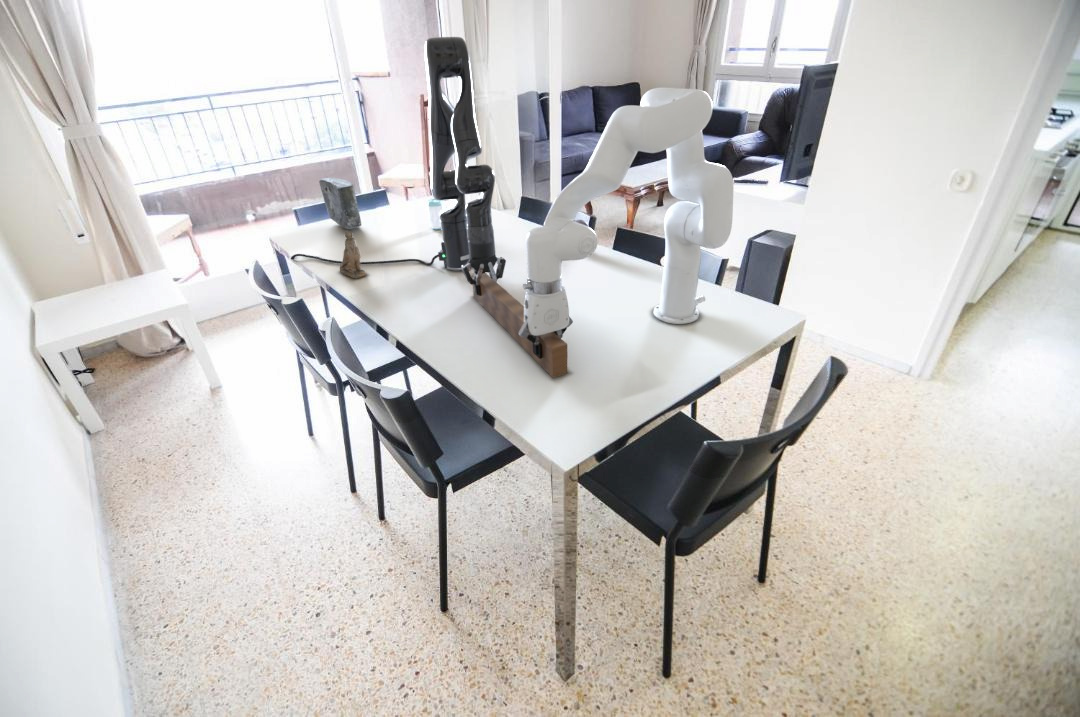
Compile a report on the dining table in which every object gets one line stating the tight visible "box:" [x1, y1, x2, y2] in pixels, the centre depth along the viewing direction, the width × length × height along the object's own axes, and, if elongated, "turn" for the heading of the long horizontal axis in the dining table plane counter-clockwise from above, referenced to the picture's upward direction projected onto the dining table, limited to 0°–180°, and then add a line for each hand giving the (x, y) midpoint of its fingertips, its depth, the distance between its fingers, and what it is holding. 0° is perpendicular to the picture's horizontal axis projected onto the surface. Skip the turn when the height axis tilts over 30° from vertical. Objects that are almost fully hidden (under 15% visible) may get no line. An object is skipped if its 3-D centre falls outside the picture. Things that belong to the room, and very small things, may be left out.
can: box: [426, 198, 445, 230], centre depth 220 cm, size 7×7×12 cm
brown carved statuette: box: [339, 229, 367, 280], centre depth 174 cm, size 12×6×18 cm, turn 43°
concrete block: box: [318, 176, 362, 230], centre depth 224 cm, size 27×9×20 cm, turn 36°
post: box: [470, 272, 569, 379], centre depth 136 cm, size 53×4×8 cm, turn 27°
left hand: (486, 293), depth 151 cm, fingers closed on post, 4 cm apart
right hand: (547, 352), depth 121 cm, fingers closed on post, 4 cm apart
